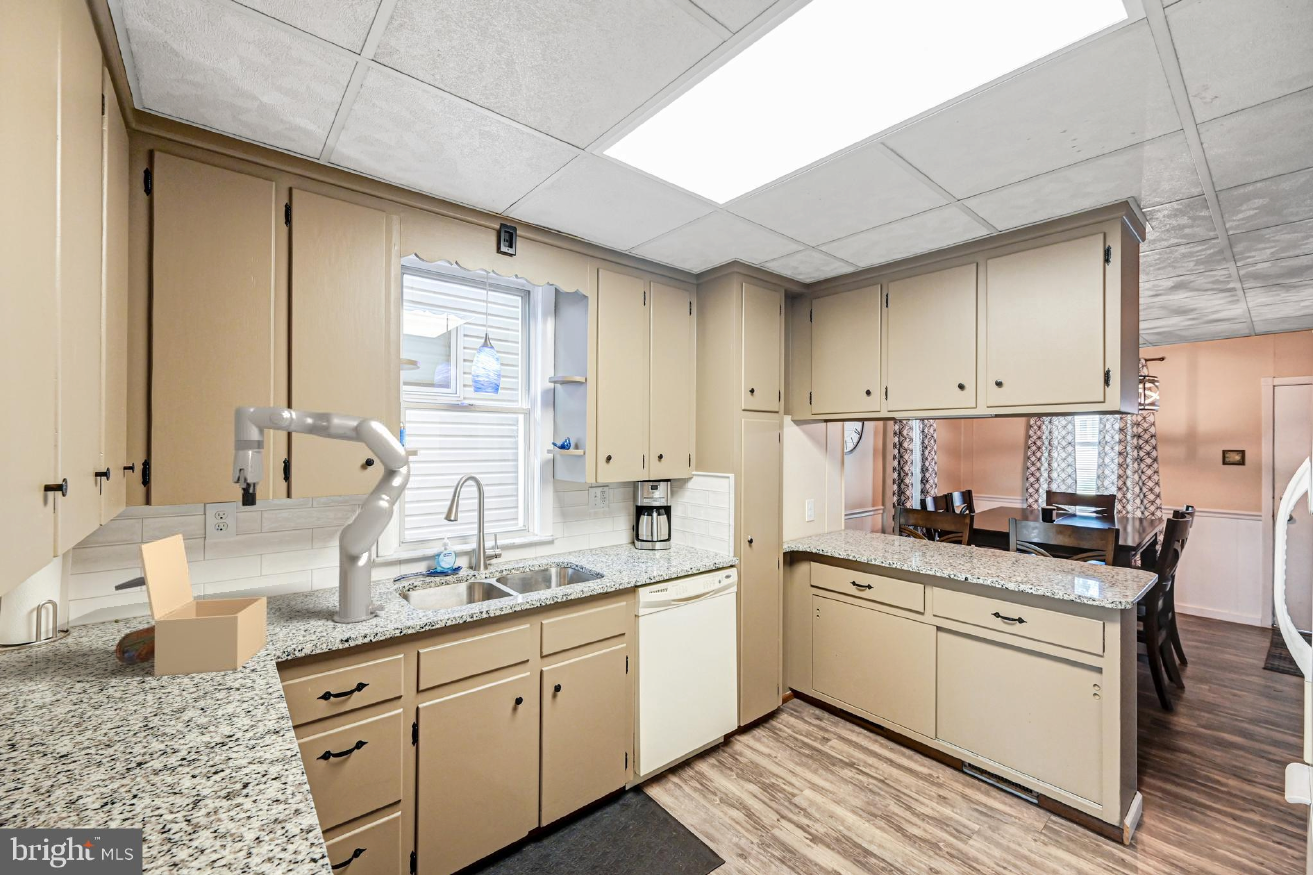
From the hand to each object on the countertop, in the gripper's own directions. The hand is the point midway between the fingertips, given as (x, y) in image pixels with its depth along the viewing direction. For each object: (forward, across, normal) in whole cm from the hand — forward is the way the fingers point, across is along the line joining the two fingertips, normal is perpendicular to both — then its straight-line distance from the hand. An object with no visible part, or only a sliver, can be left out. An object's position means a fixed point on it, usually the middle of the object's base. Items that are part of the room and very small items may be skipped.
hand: (249, 505), depth 175 cm
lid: (+15, +23, -10) cm, 29 cm away
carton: (+39, +23, +1) cm, 45 cm away
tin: (+39, +17, -17) cm, 46 cm away
